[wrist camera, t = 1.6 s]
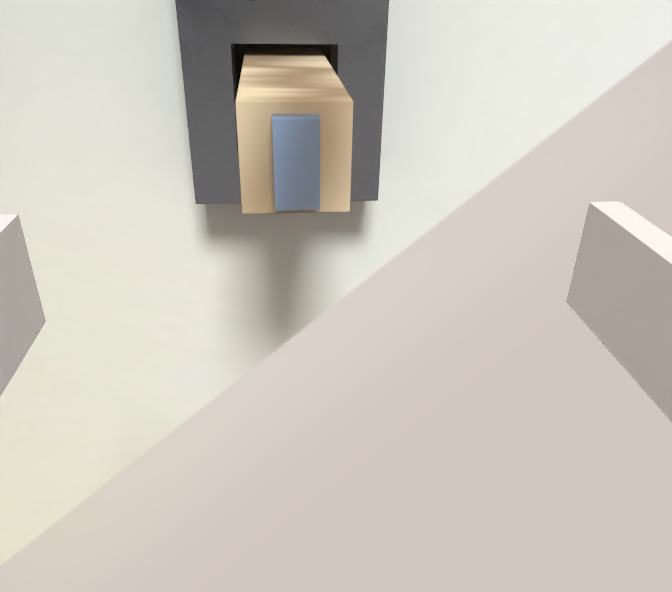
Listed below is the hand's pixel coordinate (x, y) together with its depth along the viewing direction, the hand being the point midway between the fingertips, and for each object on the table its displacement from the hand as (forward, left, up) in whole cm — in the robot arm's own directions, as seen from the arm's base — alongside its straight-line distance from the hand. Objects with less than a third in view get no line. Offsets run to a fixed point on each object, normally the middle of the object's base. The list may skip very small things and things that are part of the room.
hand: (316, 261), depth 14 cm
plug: (0, 0, -22) cm, 22 cm away
